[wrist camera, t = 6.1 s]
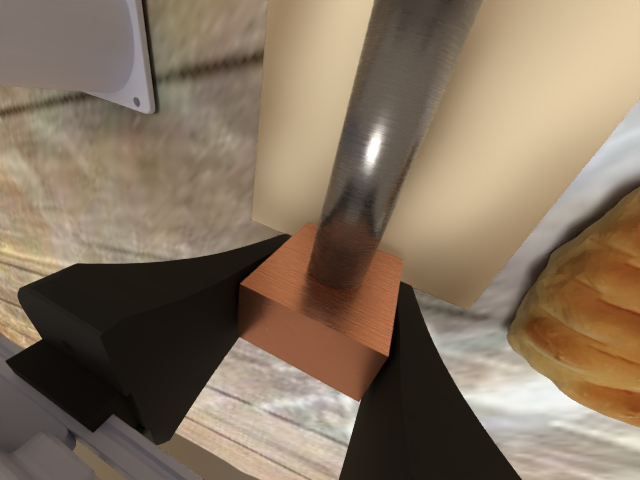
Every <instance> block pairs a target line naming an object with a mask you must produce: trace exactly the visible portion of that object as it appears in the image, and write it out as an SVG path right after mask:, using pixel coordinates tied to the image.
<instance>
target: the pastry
mask: <svg viewBox="0 0 640 480" xmlns="http://www.w3.org/2000/svg"><path fill="white" fill-rule="evenodd" d="M507 338H508V342H509V344H510V346H511V347H512V348H513V350H514V351H516V352H517V353H518V354H520V355H521V356H522V357H524V358H525V359H526V360H527V361H528V363H529V364H530V366H531V367H532V368H533V369H535V370H536V371H538V372H539V373H541V374H542V375H544V376H546V377H547V378H549V379H550V380H551V381H552V382H553V383H554V384H555V385H556V386H557V387H558V388H559V389H560V390H561V391H562V392H563V393H564V394H565V395H567V396H568V397H570V398H571V399H572V400H574V401H576V402H578V403H580V404H582V405H584V406H585V407H588V408H590V409H593V410H595V411H597V412H599V413H601V414H603V415H605V416H608V417H611V418H614V419H617V420H620V421H622V422H625V423H628V424H631V425H634V426H637V427H640V186H639V187H638V188H636V189H635V190H633V191H632V192H631V193H629V194H627V195H626V196H624V197H623V198H622V199H621V200H620V201H619V202H618V203H617V204H616V205H615V206H614V208H613V209H611V210H609V211H608V212H606V214H605V215H604V216H603V217H602V218H601V219H599V220H598V221H596V222H595V223H593V224H592V225H591V226H589V227H587V228H586V229H585V230H584V231H583V232H582V233H581V234H580V235H578V236H577V237H575V238H574V239H572V240H570V241H568V242H566V243H564V244H563V245H561V246H560V247H558V248H557V249H556V250H555V251H554V252H553V253H551V255H550V258H549V262H548V264H547V266H546V268H545V269H544V270H543V271H542V272H541V273H540V275H539V277H538V279H537V280H536V282H535V283H534V284H533V285H532V287H531V288H530V289H529V290H528V292H527V293H526V295H525V297H524V299H523V300H522V302H521V304H520V307H519V308H518V309H517V311H516V317H515V319H514V320H513V322H512V323H511V326H510V329H509V331H508V334H507Z"/></svg>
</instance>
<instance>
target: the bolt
mask: <svg viewBox="0 0 640 480" xmlns="http://www.w3.org/2000/svg"><path fill="white" fill-rule="evenodd" d="M483 1H484V0H374V3H373V7H372V11H371V15H370V19H369V23H368V27H367V31H366V35H365V39H364V43H363V47H362V51H361V55H360V59H359V63H358V67H357V71H356V75H355V79H354V83H353V87H352V91H351V95H350V99H349V103H348V107H347V111H346V115H345V119H344V123H343V127H342V131H341V135H340V139H339V143H338V147H337V151H336V155H335V159H334V163H333V167H332V171H331V175H330V179H329V183H328V187H327V191H326V195H325V199H324V203H323V207H322V211H321V216H320V220H319V224H318V226H317V225H315V224H312V223H309V222H308V223H306V224H305V225H304V226H303V227H302V228H301V229H300V230H299V231H298V232H296V233H295V234H294V235H293V236H292V237H291V238H290V239H289V240H288V241H287V242H285V243H284V244H283V245H282V246H281V247H280V248H279V249H278V250H277V251H275V252H274V253H273V254H272V255H271V256H270V257H269V258H268V259H267V260H266V261H264V262H263V263H262V264H261V265H260V266H259V267H258V268H257V269H256V270H254V271H253V272H252V273H251V274H250V275H249V276H248V277H247V278H246V279H245V280H243V281H242V282H241V283H240V288H239V306H238V324H237V336H239V337H241V338H242V339H244V340H246V341H248V342H250V343H252V344H253V345H255V346H257V347H259V348H261V349H263V350H264V351H266V352H268V353H270V354H272V355H274V356H276V357H277V358H279V359H281V360H283V361H285V362H287V363H288V364H290V365H292V366H294V367H296V368H298V369H299V370H301V371H303V372H305V373H307V374H309V375H310V376H312V377H314V378H316V379H318V380H320V381H321V382H323V383H325V384H327V385H329V386H331V387H332V388H334V389H336V390H338V391H340V392H342V393H343V394H345V395H347V396H349V397H351V398H353V399H354V400H356V401H358V402H359V401H360V400H361V398H362V397H363V395H364V394H365V392H366V390H367V389H368V387H369V386H370V384H371V383H372V381H373V380H374V378H375V377H376V375H377V374H378V372H379V370H380V369H381V367H382V366H383V364H384V363H385V361H386V360H387V358H388V356H389V350H390V343H391V337H392V330H393V324H394V318H395V311H396V305H397V298H398V292H399V285H400V279H401V272H402V266H403V259H400V258H398V257H395V256H393V255H390V254H388V253H385V252H382V251H380V250H377V249H378V246H379V244H380V242H381V239H382V237H383V235H384V232H385V230H386V228H387V225H388V223H389V221H390V218H391V216H392V214H393V211H394V209H395V207H396V204H397V202H398V200H399V197H400V195H401V192H402V190H403V188H404V185H405V183H406V181H407V178H408V176H409V174H410V171H411V169H412V167H413V164H414V162H415V160H416V157H417V155H418V153H419V150H420V148H421V146H422V143H423V141H424V139H425V136H426V134H427V132H428V129H429V127H430V125H431V122H432V120H433V118H434V115H435V113H436V111H437V108H438V106H439V104H440V101H441V99H442V97H443V94H444V92H445V90H446V87H447V85H448V82H449V80H450V78H451V75H452V73H453V71H454V68H455V66H456V64H457V61H458V59H459V57H460V54H461V52H462V50H463V47H464V45H465V43H466V40H467V38H468V36H469V33H470V31H471V29H472V26H473V24H474V22H475V19H476V17H477V15H478V12H479V10H480V8H481V5H482V3H483Z"/></svg>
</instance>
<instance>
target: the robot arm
mask: <svg viewBox="0 0 640 480" xmlns="http://www.w3.org/2000/svg"><path fill="white" fill-rule="evenodd" d="M0 86H12V87H26V88H41V89H55V90H69V91H82V92H84V93H87V94H90V95H93V96H96V97H99V98H102V99H105V100H107V101H110V102H113V103H116V104H119V105H122V106H125V107H128V108H130V109H133V110H136V111H139V112H142V113H145V114H153V113H154V112H155V101H154V93H153V85H152V78H151V70H150V62H149V54H148V47H147V39H146V31H145V24H144V16H143V8H142V1H141V0H0ZM291 237H292V235H289V234H283V235H280V236H277V237H273V238H270V239H267V240H264V241H261V242H258V243H255V244H252V245H249V246H245V247H241V248H238V249H234V250H230V251H227V252H222V253H218V254H213V255H208V256H202V257H197V258H190V259H181V260H173V261H164V262H151V263H130V264H81V263H77V264H74V265H72V266H69V267H67V268H65V269H63V270H60V271H58V272H56V273H53V274H51V275H49V276H46V277H44V278H42V279H40V280H37V281H35V282H33V283H30V284H28V285H26V286H23V287H21V288H20V289H19V291H18V299H19V302H20V304H21V306H22V308H23V309H24V311H25V313H26V314H27V316H28V317H29V319H30V320H31V322H32V324H33V325H34V327H35V328H36V330H37V331H38V333H39V334H40V336H41V337H42V340H40V341H38V342H37V343H35V344H33V345H31V346H30V347H28V348H26V349H25V350H23V349H22V348H20V347H19V346H18V345H16V344H15V343H14V342H12V341H11V340H10V339H8V338H7V337H5V336H4V335H3V334H1V333H0V480H100V478H99V477H98V476H97V475H96V474H95V472H94V470H93V469H92V468H91V467H89V466H88V465H87V464H86V463H85V462H84V461H83V460H81V459H80V458H79V457H78V456H77V455H75V453H74V452H73V450H74V448H75V446H76V440H78V441H79V442H80V443H82V444H83V445H84V446H85V447H87V448H88V449H89V450H91V451H92V452H93V453H94V454H96V455H97V456H98V457H99V458H101V459H102V460H103V461H104V462H106V463H107V464H108V465H110V466H111V467H112V468H113V469H115V470H116V471H117V472H118V473H120V474H121V475H122V476H124V477H125V478H126V479H127V480H204V479H203V478H201V477H200V476H198V475H197V474H196V473H194V472H193V471H191V470H190V469H189V468H187V467H186V466H184V465H183V464H182V463H180V462H179V461H177V460H176V459H175V458H173V457H172V456H171V455H169V454H168V453H166V452H165V451H163V450H162V449H161V448H160V447H158V446H157V445H159V444H162V443H165V442H167V441H169V440H170V439H171V438H172V436H173V434H174V433H175V431H176V430H177V428H178V426H179V425H180V423H181V422H182V420H183V419H184V417H185V416H186V414H187V412H188V411H189V409H190V408H191V406H192V405H193V403H194V401H195V400H196V398H197V397H198V395H199V394H200V392H201V391H202V389H203V388H204V386H205V385H206V383H207V382H208V381H209V379H210V378H211V376H212V375H213V373H214V372H215V370H216V369H217V367H218V366H219V365H220V363H221V362H222V360H223V359H224V357H225V356H226V355H227V353H228V352H229V350H230V349H231V348H232V346H233V345H234V344H235V342H236V341H237V339H238V338H239V336H237V324H238V306H239V288H240V283H241V282H242V281H243V280H245V279H246V278H247V277H248V276H249V275H250V274H251V273H252V272H253V271H254V270H256V269H257V268H258V267H259V266H260V265H261V264H262V263H263V262H264V261H266V260H267V259H268V258H269V257H270V256H271V255H272V254H273V253H274V252H275V251H277V250H278V249H279V248H280V247H281V246H282V245H283V244H284V243H285V242H287V241H288V240H289V239H290V238H291ZM339 480H522V479H521V478H520V477H519V475H518V474H517V473H516V471H515V470H514V469H513V467H512V466H511V465H510V463H509V462H508V461H507V459H506V458H505V456H504V455H503V454H502V452H501V451H500V450H499V448H498V447H497V446H496V444H495V443H494V442H493V440H492V439H491V437H490V436H489V435H488V433H487V432H486V430H485V429H484V427H483V426H482V425H481V423H480V422H479V420H478V419H477V417H476V416H475V414H474V412H473V411H472V409H471V408H470V406H469V405H468V403H467V402H466V400H465V399H464V397H463V396H462V394H461V392H460V391H459V389H458V387H457V386H456V384H455V382H454V381H453V379H452V377H451V375H450V374H449V372H448V370H447V368H446V367H445V365H444V363H443V361H442V359H441V357H440V355H439V353H438V351H437V349H436V347H435V345H434V343H433V341H432V338H431V336H430V334H429V331H428V329H427V326H426V324H425V322H424V319H423V316H422V314H421V311H420V308H419V306H418V303H417V300H416V297H415V294H414V291H413V288H412V286H411V285H409V284H407V283H404V282H402V281H400V285H399V292H398V298H397V305H396V311H395V318H394V324H393V330H392V337H391V343H390V350H389V356H388V358H387V360H386V361H385V363H384V364H383V366H382V367H381V369H380V370H379V372H378V374H377V375H376V377H375V378H374V380H373V381H372V383H371V384H370V386H369V387H368V389H367V390H366V392H365V394H364V395H363V397H362V398H361V402H360V406H359V409H358V413H357V417H356V421H355V424H354V428H353V432H352V435H351V439H350V442H349V446H348V450H347V453H346V457H345V460H344V464H343V467H342V470H341V474H340V477H339Z"/></svg>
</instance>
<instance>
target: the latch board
mask: <svg viewBox="0 0 640 480" xmlns="http://www.w3.org/2000/svg"><path fill="white" fill-rule="evenodd" d="M373 3H374V0H268V8H267V21H266V35H265V48H264V61H263V74H262V87H261V100H260V113H259V126H258V139H257V152H256V166H255V179H254V192H253V205H252V218H251V220H253V221H256V222H258V223H260V224H263V225H265V226H268V227H270V228H272V229H275V230H277V231H280V232H282V233H284V234H289V235H292V236H293V235H294V234H295V233H296V232H298V231H299V230H300V229H301V228H302V227H303V226H304V225H305V224H306V223H308V222H309V223H312V224H315V225H317V226H318V224H319V220H320V216H321V211H322V207H323V203H324V199H325V195H326V191H327V187H328V183H329V179H330V175H331V171H332V167H333V163H334V159H335V155H336V151H337V147H338V143H339V139H340V135H341V131H342V127H343V123H344V119H345V115H346V111H347V107H348V103H349V99H350V95H351V91H352V87H353V83H354V79H355V75H356V71H357V67H358V63H359V59H360V55H361V51H362V47H363V43H364V39H365V35H366V31H367V27H368V23H369V19H370V15H371V11H372V7H373ZM639 99H640V0H484V1H483V3H482V5H481V8H480V10H479V12H478V15H477V17H476V19H475V22H474V24H473V26H472V29H471V31H470V33H469V36H468V38H467V40H466V43H465V45H464V47H463V50H462V52H461V54H460V57H459V59H458V61H457V64H456V66H455V68H454V71H453V73H452V75H451V78H450V80H449V82H448V85H447V87H446V90H445V92H444V94H443V97H442V99H441V101H440V104H439V106H438V108H437V111H436V113H435V115H434V118H433V120H432V122H431V125H430V127H429V129H428V132H427V134H426V136H425V139H424V141H423V143H422V146H421V148H420V150H419V153H418V155H417V157H416V160H415V162H414V164H413V167H412V169H411V171H410V174H409V176H408V178H407V181H406V183H405V185H404V188H403V190H402V192H401V195H400V197H399V200H398V202H397V204H396V207H395V209H394V211H393V214H392V216H391V218H390V221H389V223H388V225H387V228H386V230H385V232H384V235H383V237H382V239H381V242H380V244H379V246H378V249H377V250H380V251H382V252H385V253H388V254H390V255H393V256H395V257H398V258H400V259H403V266H402V272H401V279H400V281H402V282H404V283H407V284H409V285H411V286H412V287H414V288H416V289H418V290H421V291H423V292H425V293H428V294H430V295H433V296H435V297H437V298H440V299H442V300H445V301H447V302H449V303H452V304H454V305H457V306H459V307H461V308H464V309H466V310H469V309H470V307H471V306H472V305H473V304H474V302H475V301H476V300H477V299H478V297H479V296H480V295H481V294H482V293H483V291H484V290H485V289H486V288H487V286H488V285H489V284H490V283H491V281H492V280H493V279H494V278H495V277H496V275H497V274H498V273H499V272H500V270H501V269H502V268H503V267H504V265H505V264H506V263H507V262H508V261H509V259H510V258H511V257H512V256H513V254H514V253H515V252H516V251H517V249H518V248H519V247H520V246H521V245H522V243H523V242H524V241H525V240H526V238H527V237H528V236H529V235H530V233H531V232H532V231H533V230H534V228H535V227H536V226H537V225H538V224H539V222H540V221H541V220H542V219H543V217H544V216H545V215H546V214H547V212H548V211H549V210H550V209H551V208H552V206H553V205H554V204H555V203H556V201H557V200H558V199H559V198H560V196H561V195H562V194H563V193H564V192H565V190H566V189H567V188H568V187H569V185H570V184H571V183H572V182H573V180H574V179H575V178H576V177H577V176H578V174H579V173H580V172H581V171H582V169H583V168H584V167H585V166H586V164H587V163H588V162H589V161H590V160H591V158H592V157H593V156H594V155H595V153H596V152H597V151H598V150H599V148H600V147H601V146H602V145H603V143H604V142H605V141H606V140H607V139H608V137H609V136H610V135H611V134H612V132H613V131H614V130H615V129H616V127H617V126H618V125H619V124H620V123H621V121H622V120H623V119H624V118H625V116H626V115H627V114H628V113H629V111H630V110H631V109H632V108H633V107H634V105H635V104H636V103H637V102H638V100H639Z"/></svg>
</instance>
